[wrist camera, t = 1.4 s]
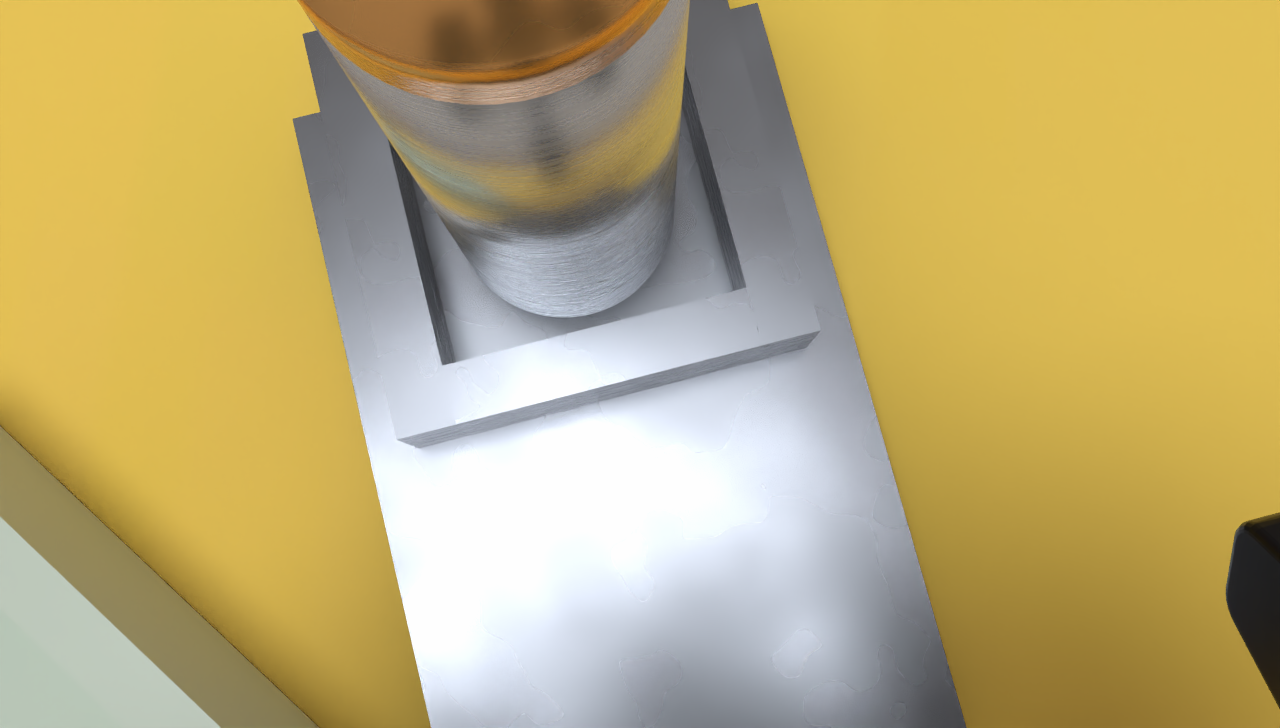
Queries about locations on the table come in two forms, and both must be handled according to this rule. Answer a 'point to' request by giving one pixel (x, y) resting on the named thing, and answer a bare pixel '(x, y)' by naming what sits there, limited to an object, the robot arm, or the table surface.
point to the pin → (530, 131)
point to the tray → (106, 627)
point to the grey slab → (632, 444)
